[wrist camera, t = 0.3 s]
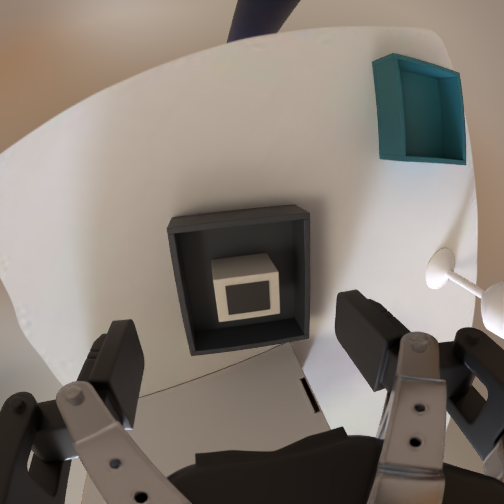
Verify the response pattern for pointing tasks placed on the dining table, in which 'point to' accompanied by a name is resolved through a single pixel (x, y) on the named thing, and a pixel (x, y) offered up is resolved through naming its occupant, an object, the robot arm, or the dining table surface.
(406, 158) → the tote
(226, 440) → the packaging
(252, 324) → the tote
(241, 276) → the white box with panel
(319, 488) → the robot arm
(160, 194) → the dining table surface
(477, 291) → the champagne flute
